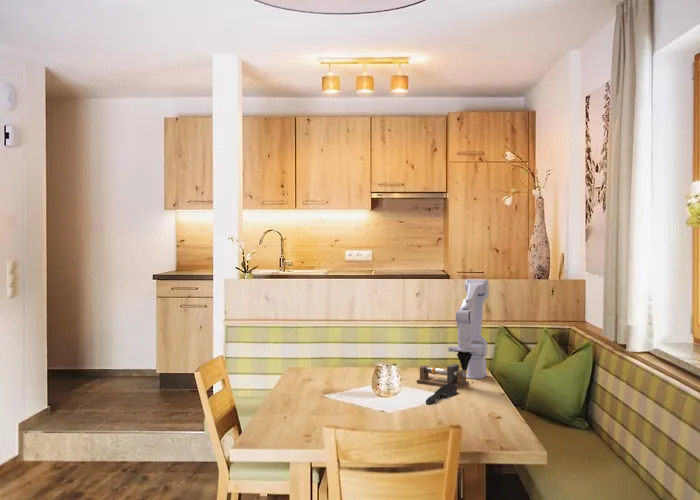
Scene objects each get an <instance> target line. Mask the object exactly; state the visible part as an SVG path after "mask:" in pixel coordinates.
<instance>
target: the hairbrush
mask: <svg viewBox="0 0 700 500" xmlns="http://www.w3.org/2000/svg"><path fill="white" fill-rule="evenodd" d="M447 383H449V382H447ZM441 385H442V384H441ZM457 393H458V390H457V387H456V386H455V385H454V384H446V385H443V386H439V387H436V389H435V390H434V394H432V395H431V396H429V397H427V399H426V400H425V404H426V406H427V405H429V406H430V405H433V404H434V403H436V401H437V399H438V398H443V399H444V398H451V397H455V396H456V395H457Z"/></svg>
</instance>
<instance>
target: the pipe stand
mask: <svg viewBox="0 0 700 500" xmlns="http://www.w3.org/2000/svg"><path fill="white" fill-rule="evenodd" d="M429 374H432V375H439V376H440V375H442V376H447V369H443V368H437V367H429V365H428V364H426V365H425V364H424V365H421V366H419V378H418V379H416V384H423V385H430V386H435V387H436V386H437V387H441V386H443V385H446V384H454V385H455V386H456V387H457V389H458V390H459V389H461V388H463V387H466V386H468V385H470V382H469V380H467V378H466V375H467V370H462V369H459V371H454V376H456V377H457V381H455V382H453V383H450V382H449V383H447V377H438V376H430V375H429ZM441 384H442V385H441Z"/></svg>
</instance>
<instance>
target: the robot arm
mask: <svg viewBox="0 0 700 500" xmlns="http://www.w3.org/2000/svg"><path fill="white" fill-rule="evenodd" d="M489 289H490V284H489V280H488V279H475V278H474V279H473V278H471V279H469V278H467V279H466V280H465V283H464V290H465V293H466V298H464V299H463V300H462V303H461V305H460V309H459V310H457V311H456V313H455V320H456V321H455V322H456V328H457V346H448V347H447V350H448V351H447V352H448V353H449V352H450V353H451V352H453V353H456V357H457V358H458V360H459V363H460V366H461V370H466V379H467V378H468V379H476V380H482V379H484V378H485V377H488V376H489V374H488V373H487V360H486V358H487V357H486V356H487V355H488V341H487V340H486V338H485V337H484V336H482V331H483V330H482V329H483V314H484V303H485V300H487V299H488V298H489ZM485 357H486V358H485Z"/></svg>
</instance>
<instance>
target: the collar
mask: <svg viewBox="0 0 700 500" xmlns="http://www.w3.org/2000/svg"><path fill="white" fill-rule="evenodd" d="M446 370H447V375H446V378H447V382H450V383H453V382H455V381H457V377H456V376H454V371H460V365H459V364H458V363H457V364H456V363H455V364H454V363H453V364H451V365H448V366H446Z"/></svg>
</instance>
